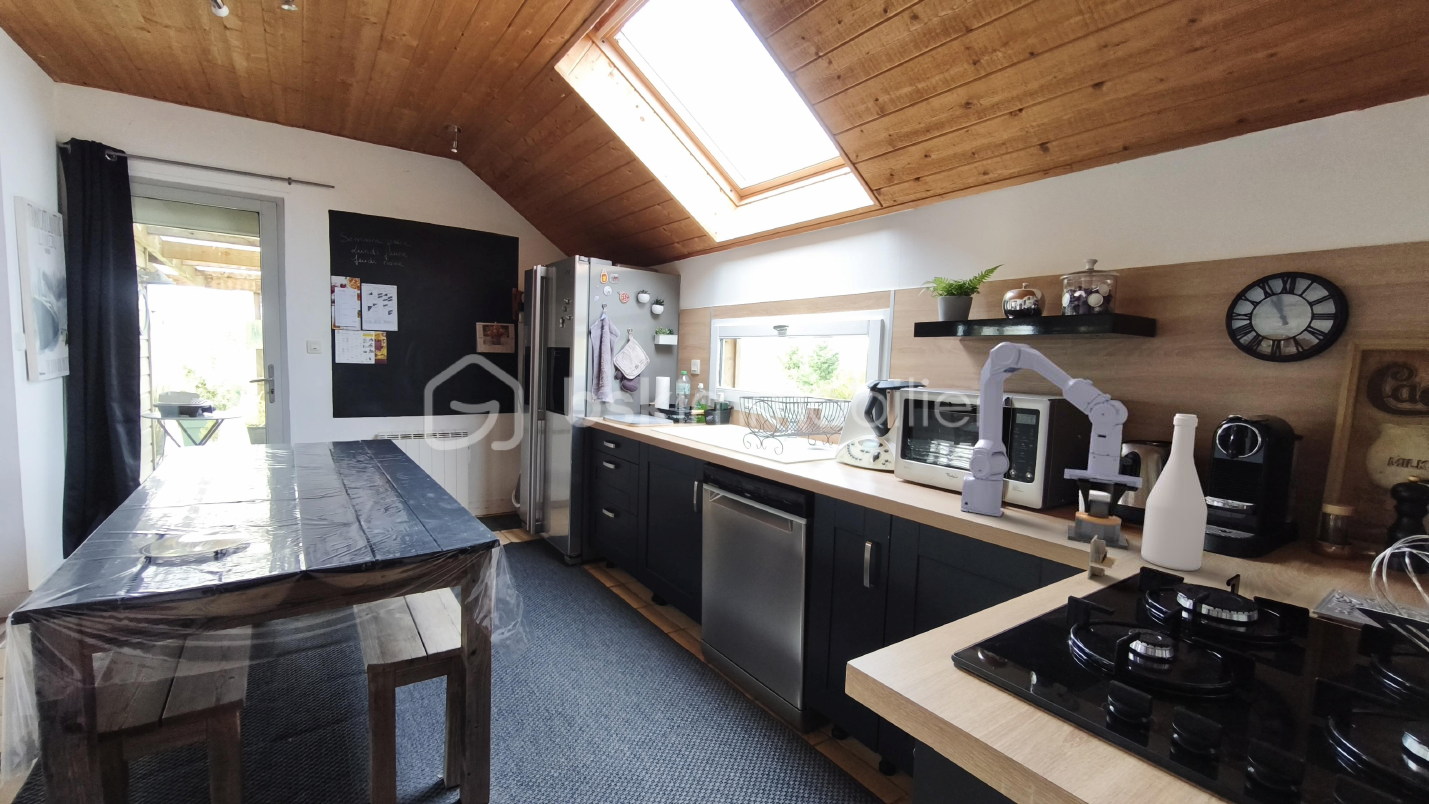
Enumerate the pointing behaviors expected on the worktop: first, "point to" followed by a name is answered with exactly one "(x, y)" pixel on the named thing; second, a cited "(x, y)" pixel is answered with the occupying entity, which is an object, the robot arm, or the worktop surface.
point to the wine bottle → (1176, 506)
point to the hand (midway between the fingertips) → (1098, 513)
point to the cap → (1098, 513)
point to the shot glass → (1093, 497)
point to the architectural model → (1099, 558)
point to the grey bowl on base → (1097, 533)
